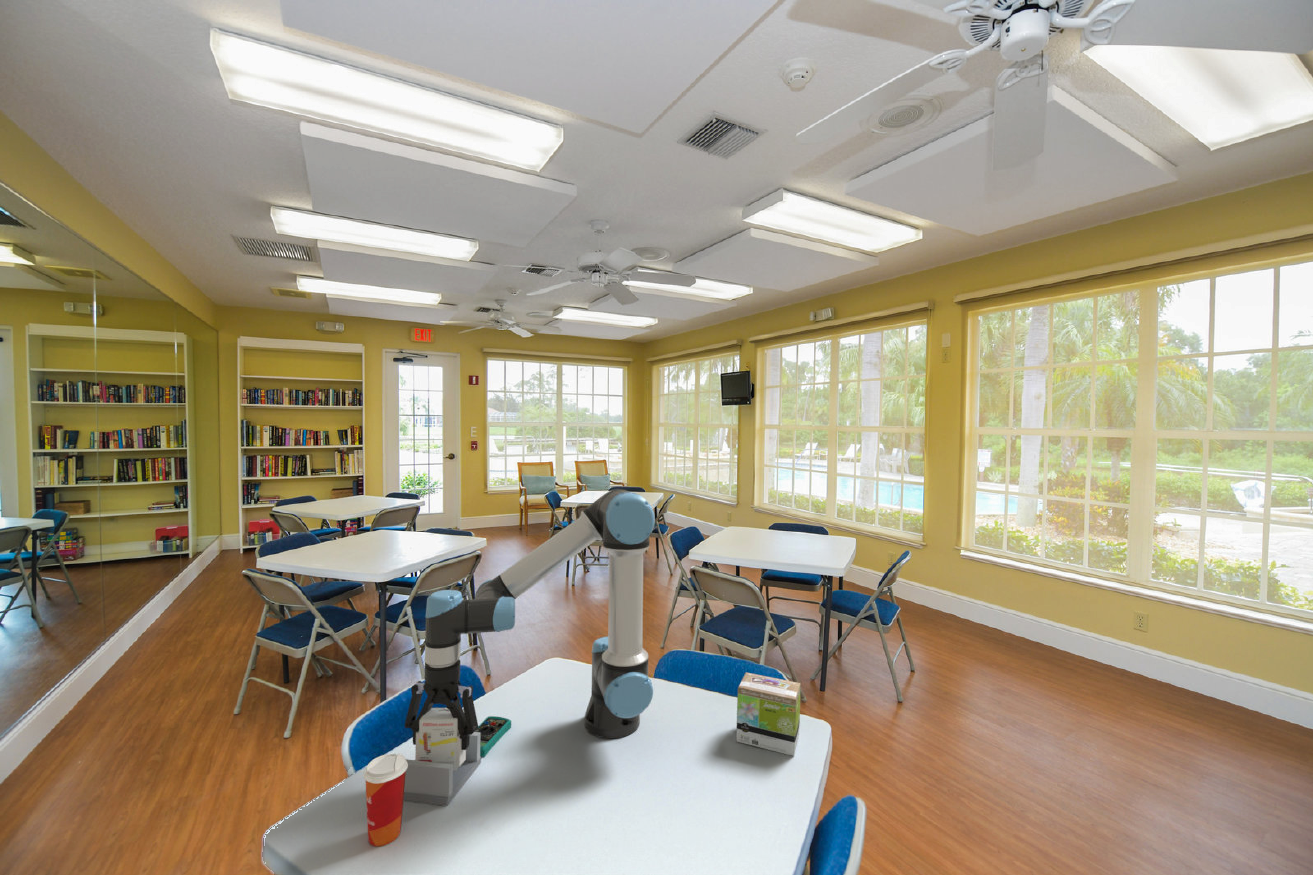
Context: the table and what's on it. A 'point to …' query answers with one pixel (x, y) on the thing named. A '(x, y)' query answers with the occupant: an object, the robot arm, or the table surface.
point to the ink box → (438, 737)
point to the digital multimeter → (492, 732)
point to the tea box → (768, 713)
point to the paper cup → (385, 797)
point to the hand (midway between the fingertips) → (440, 760)
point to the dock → (440, 777)
